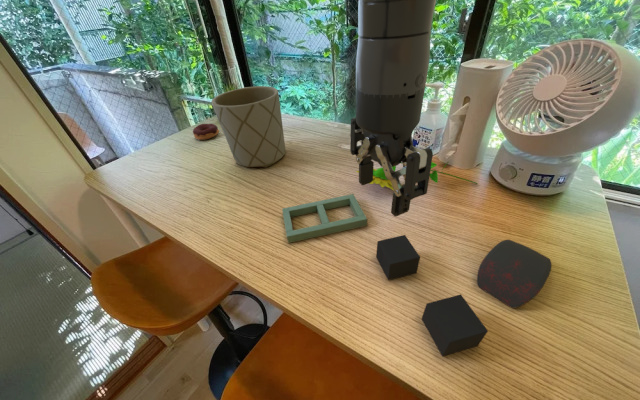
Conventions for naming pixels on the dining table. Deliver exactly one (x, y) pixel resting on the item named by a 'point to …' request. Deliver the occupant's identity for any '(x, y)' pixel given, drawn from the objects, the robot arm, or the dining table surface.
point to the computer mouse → (513, 273)
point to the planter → (252, 124)
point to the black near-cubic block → (397, 257)
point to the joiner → (323, 218)
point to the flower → (380, 175)
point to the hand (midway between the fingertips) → (381, 196)
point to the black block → (453, 325)
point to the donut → (205, 131)
